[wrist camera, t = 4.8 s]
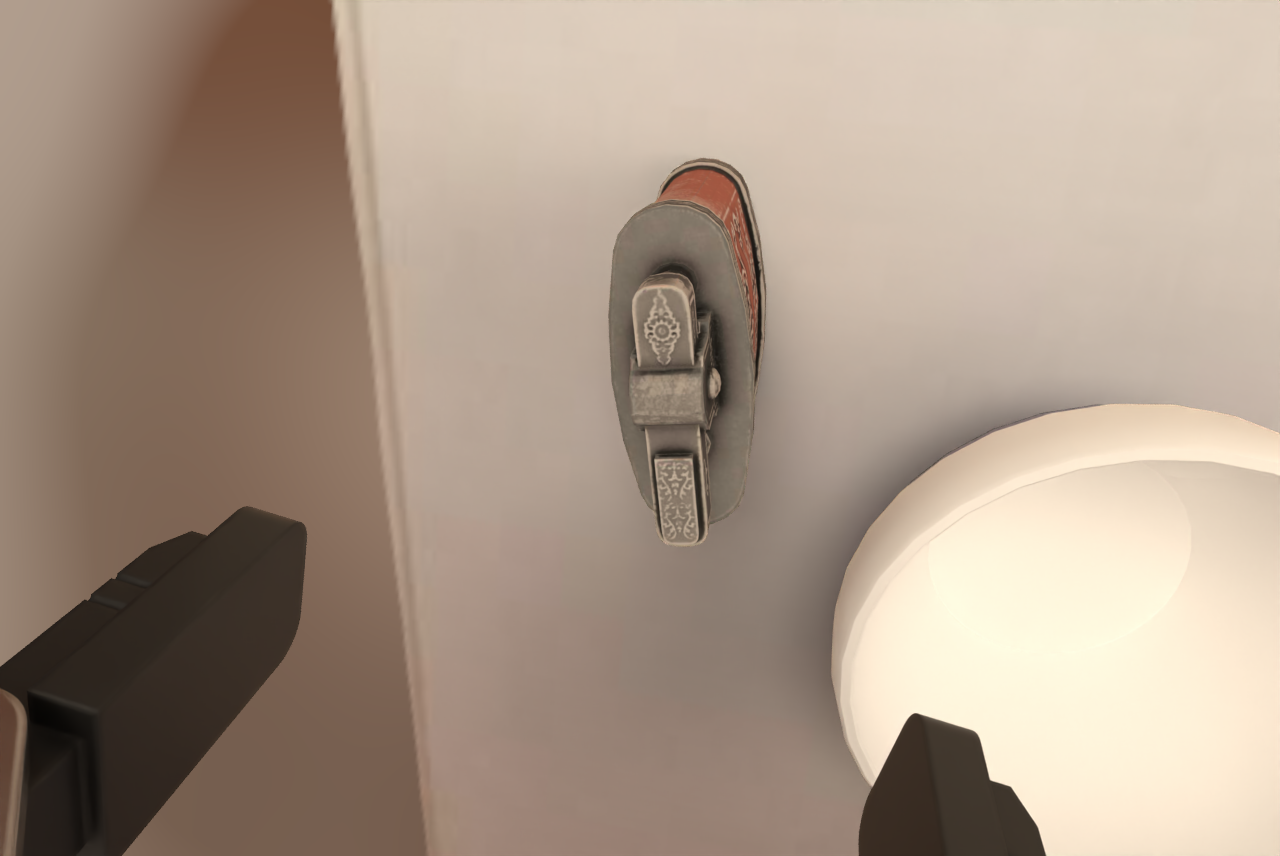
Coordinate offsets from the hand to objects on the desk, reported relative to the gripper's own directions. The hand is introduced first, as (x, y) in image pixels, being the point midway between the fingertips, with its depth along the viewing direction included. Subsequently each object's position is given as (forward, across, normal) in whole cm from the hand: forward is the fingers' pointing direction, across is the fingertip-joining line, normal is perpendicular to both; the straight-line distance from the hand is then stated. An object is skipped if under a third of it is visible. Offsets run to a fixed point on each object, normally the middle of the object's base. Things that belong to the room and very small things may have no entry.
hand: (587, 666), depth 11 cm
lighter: (+18, 0, 0) cm, 18 cm away
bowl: (+18, -13, +5) cm, 23 cm away
